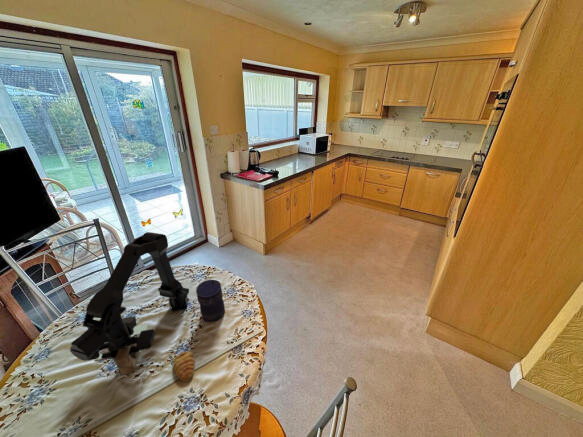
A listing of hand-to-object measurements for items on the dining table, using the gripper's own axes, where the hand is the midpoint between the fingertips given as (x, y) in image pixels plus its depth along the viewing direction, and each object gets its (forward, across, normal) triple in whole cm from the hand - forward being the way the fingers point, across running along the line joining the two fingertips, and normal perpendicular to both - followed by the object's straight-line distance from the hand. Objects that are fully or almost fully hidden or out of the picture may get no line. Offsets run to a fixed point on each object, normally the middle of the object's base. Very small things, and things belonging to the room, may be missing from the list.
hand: (129, 358), depth 81 cm
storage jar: (+3, -27, -16) cm, 32 cm away
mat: (+2, +6, -10) cm, 12 cm away
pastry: (+3, -19, +6) cm, 20 cm away
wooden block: (+2, 0, 0) cm, 3 cm away
